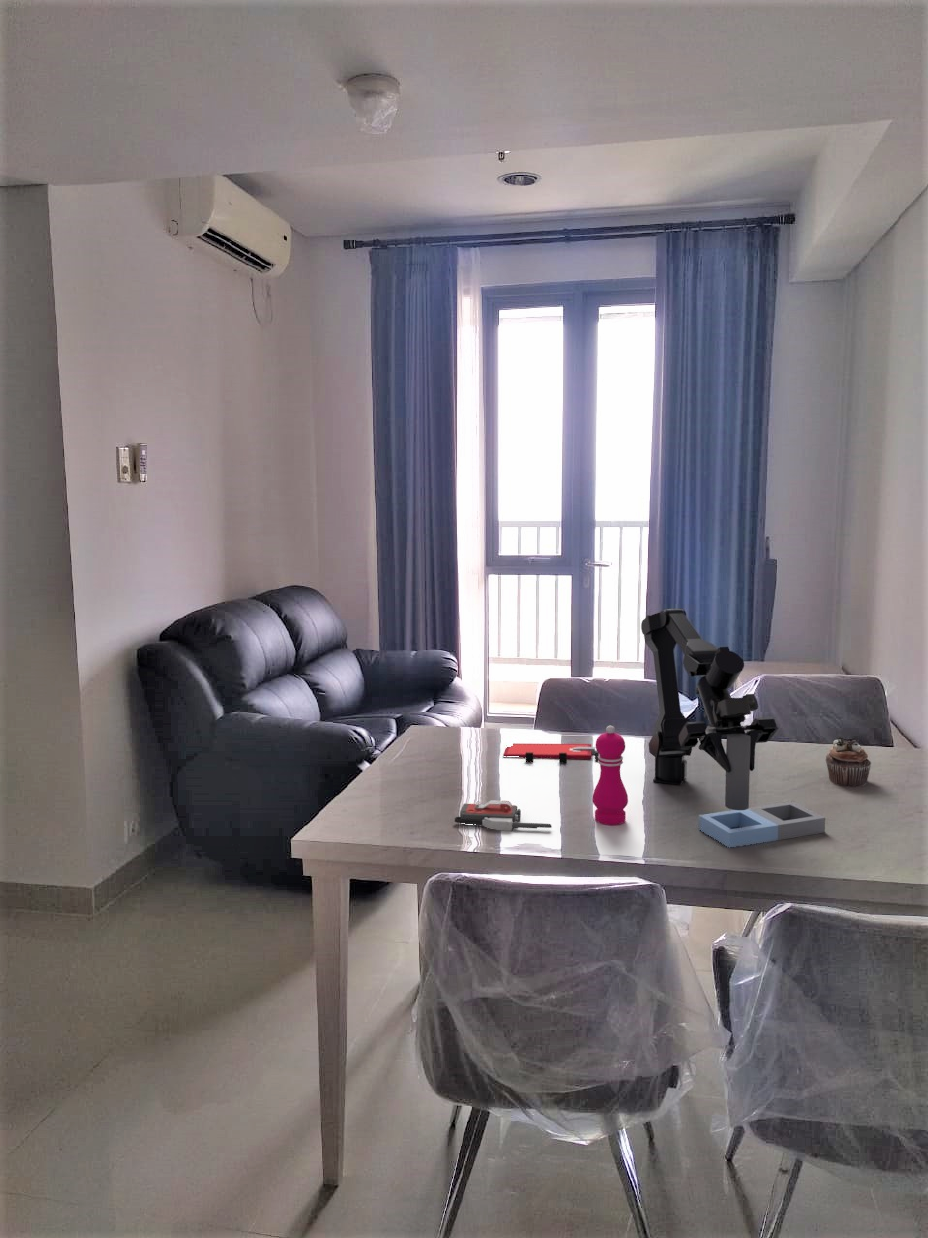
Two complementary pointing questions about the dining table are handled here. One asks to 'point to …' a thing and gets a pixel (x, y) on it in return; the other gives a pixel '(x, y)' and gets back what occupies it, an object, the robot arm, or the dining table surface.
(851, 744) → the cupcake
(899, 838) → the dining table surface
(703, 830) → the two-hole peg board
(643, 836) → the dining table surface
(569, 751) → the red board with handle
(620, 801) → the pepper mill
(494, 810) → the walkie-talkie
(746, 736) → the plug
